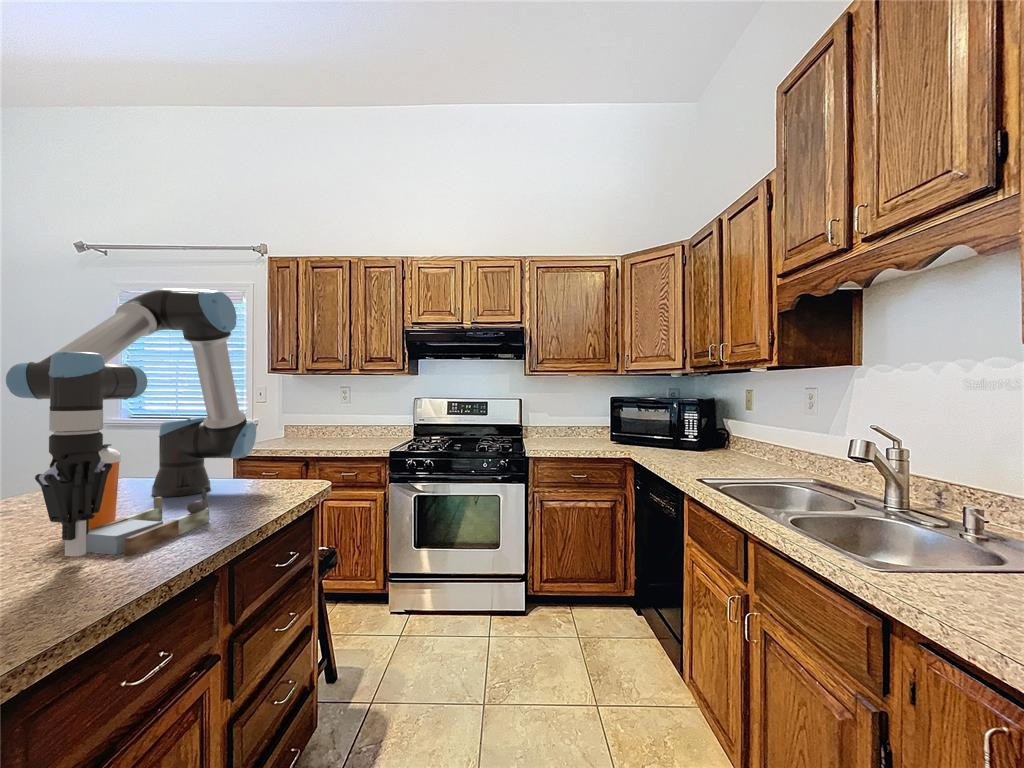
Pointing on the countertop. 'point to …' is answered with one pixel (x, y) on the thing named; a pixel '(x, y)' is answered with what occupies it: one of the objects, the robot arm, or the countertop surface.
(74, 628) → the countertop surface
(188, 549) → the countertop surface
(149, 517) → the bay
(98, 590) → the countertop surface
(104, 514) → the shaker bottle
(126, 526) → the pale blue flat block
